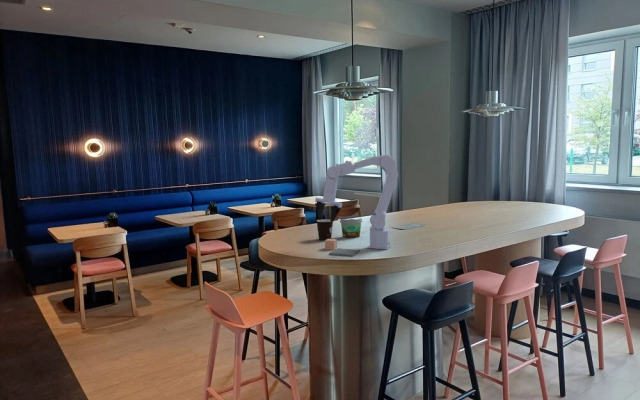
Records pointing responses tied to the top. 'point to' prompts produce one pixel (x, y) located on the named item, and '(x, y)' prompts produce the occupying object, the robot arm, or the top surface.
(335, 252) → the mat
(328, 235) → the coffee mug
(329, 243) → the cube
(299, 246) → the top surface
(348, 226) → the food container
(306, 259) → the top surface
